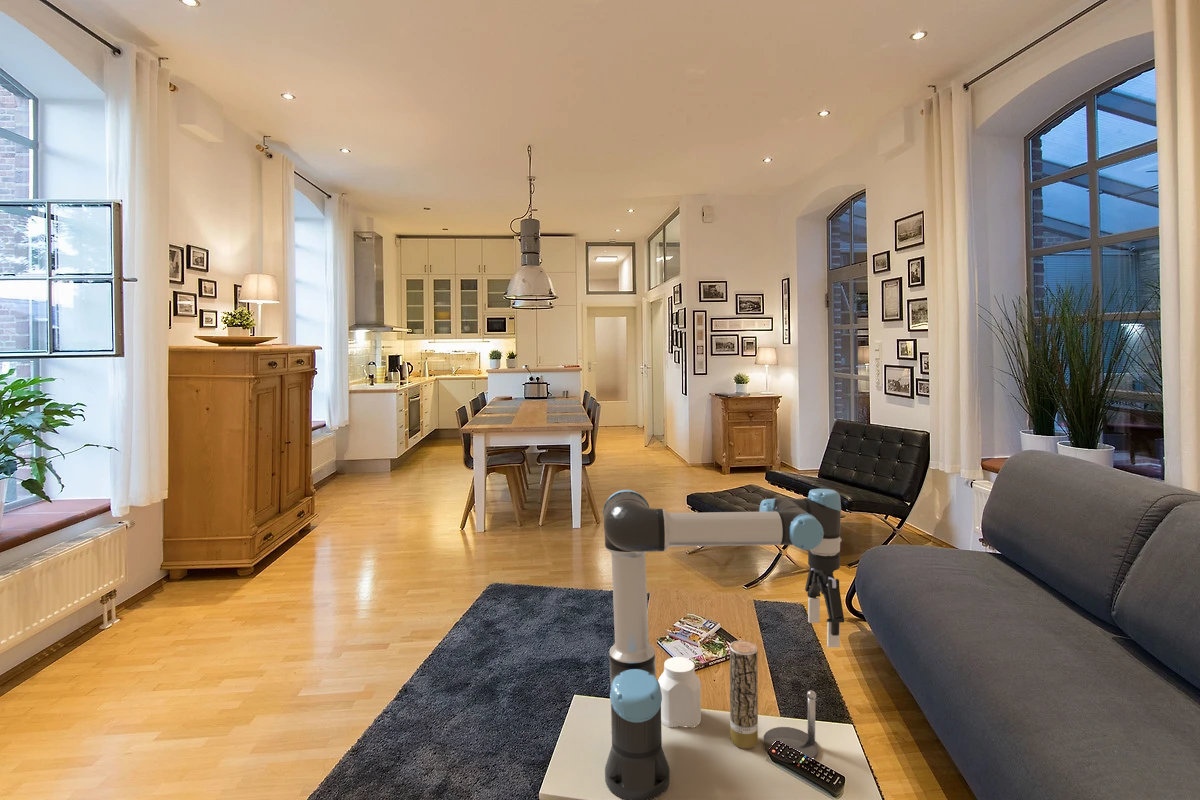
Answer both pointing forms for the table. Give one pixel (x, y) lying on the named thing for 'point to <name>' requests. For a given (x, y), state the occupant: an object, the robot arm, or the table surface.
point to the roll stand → (796, 733)
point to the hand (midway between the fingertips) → (823, 634)
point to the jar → (680, 693)
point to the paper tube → (744, 694)
